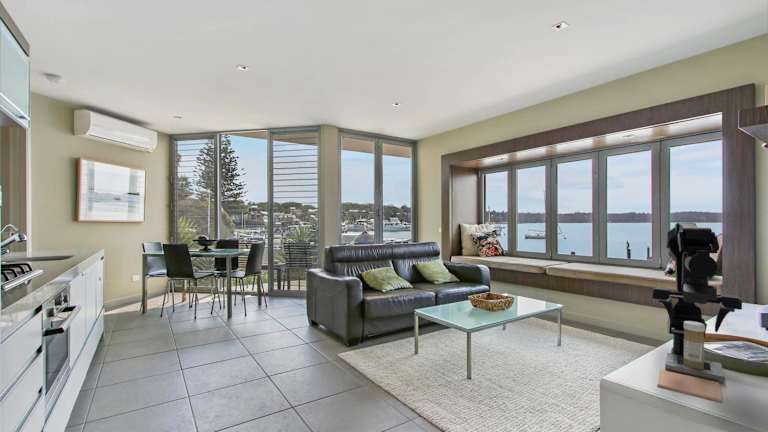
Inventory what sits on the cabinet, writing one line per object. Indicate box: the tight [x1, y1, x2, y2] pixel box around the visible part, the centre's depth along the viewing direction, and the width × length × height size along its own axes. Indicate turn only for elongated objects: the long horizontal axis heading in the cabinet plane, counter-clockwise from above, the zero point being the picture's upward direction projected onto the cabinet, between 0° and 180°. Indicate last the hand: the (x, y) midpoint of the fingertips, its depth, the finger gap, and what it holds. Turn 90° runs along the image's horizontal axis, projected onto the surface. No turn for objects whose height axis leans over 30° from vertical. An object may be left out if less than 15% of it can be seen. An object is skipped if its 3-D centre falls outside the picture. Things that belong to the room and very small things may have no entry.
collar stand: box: [664, 352, 725, 385], centre depth 103 cm, size 12×12×2 cm
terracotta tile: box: [657, 369, 723, 403], centre depth 94 cm, size 12×12×1 cm
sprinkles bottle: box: [684, 321, 705, 370], centre depth 103 cm, size 5×5×14 cm
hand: (693, 328), depth 103 cm, fingers open, 9 cm apart
